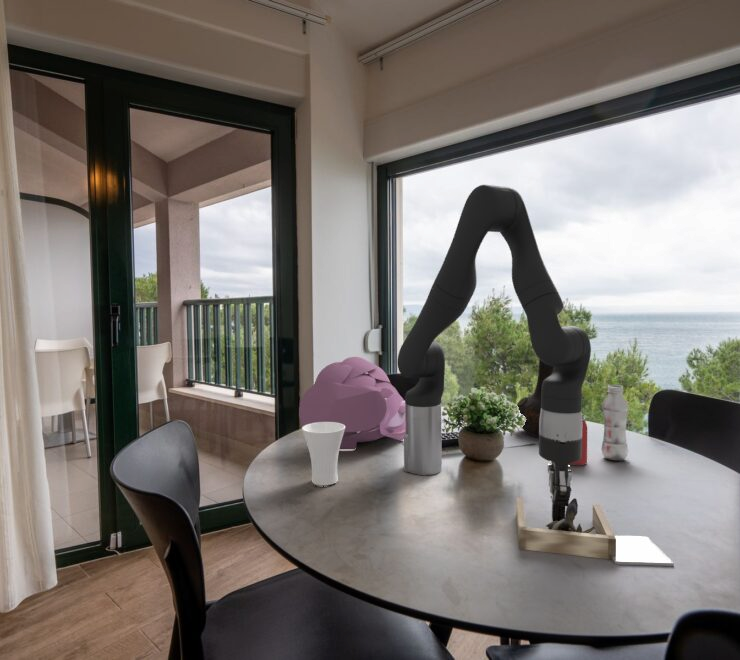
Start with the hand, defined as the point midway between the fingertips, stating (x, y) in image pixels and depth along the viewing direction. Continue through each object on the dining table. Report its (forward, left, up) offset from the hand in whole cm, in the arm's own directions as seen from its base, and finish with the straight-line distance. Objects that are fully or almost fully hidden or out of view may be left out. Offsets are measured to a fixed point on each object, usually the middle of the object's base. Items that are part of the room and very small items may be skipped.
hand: (558, 521), depth 93 cm
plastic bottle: (+19, +46, -1) cm, 49 cm away
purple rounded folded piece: (-52, +47, -1) cm, 70 cm away
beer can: (+8, +41, -1) cm, 41 cm away
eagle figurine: (+1, -4, -1) cm, 4 cm away
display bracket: (0, -2, -1) cm, 3 cm away
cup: (-52, +13, -1) cm, 53 cm away
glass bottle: (+3, +68, -1) cm, 68 cm away
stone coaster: (+11, -6, -1) cm, 13 cm away
